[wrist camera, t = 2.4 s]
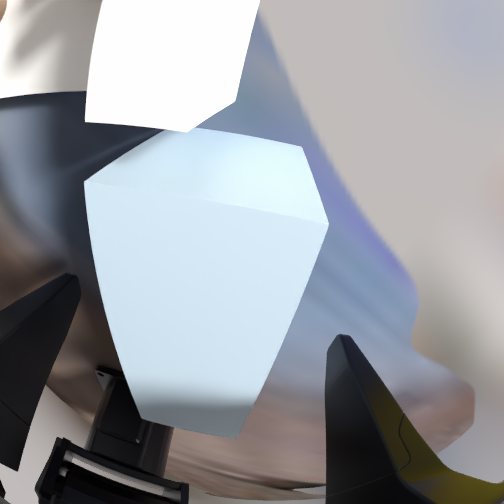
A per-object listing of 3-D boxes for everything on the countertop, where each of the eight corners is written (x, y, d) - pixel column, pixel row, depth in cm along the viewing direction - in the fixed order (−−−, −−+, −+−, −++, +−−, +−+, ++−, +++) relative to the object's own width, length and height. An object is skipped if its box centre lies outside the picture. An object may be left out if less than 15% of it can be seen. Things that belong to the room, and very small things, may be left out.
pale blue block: (246, 347, 14) (236, 438, 10) (169, 331, 14) (141, 418, 10) (301, 145, 8) (329, 224, 4) (174, 124, 8) (84, 181, 4)
